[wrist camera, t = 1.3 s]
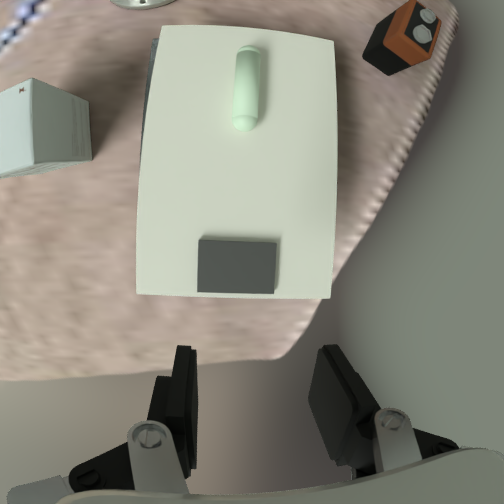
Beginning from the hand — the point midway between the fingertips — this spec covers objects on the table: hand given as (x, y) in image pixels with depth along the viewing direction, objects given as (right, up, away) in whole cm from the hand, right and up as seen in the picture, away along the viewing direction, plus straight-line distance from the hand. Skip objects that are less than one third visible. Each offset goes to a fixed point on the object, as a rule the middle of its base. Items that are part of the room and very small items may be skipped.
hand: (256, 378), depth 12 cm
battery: (+16, +30, +18) cm, 39 cm away
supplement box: (-22, +18, +17) cm, 33 cm away
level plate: (-1, +14, +14) cm, 20 cm away
